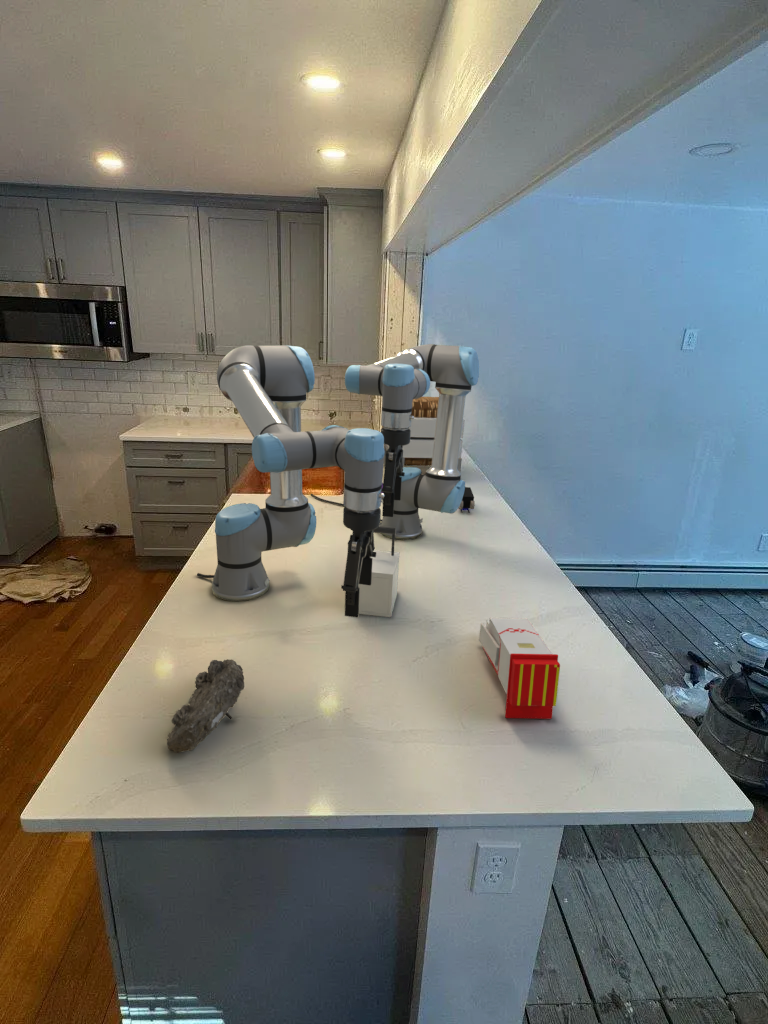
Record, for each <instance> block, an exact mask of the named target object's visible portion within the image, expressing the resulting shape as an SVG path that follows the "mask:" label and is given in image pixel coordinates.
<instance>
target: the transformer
mask: <svg viewBox="0 0 768 1024" xmlns="http://www.w3.org/2000/svg"><path fill="white" fill-rule="evenodd" d="M438 400H439V396H422V397H420V398H418V399H413V401H412V411H411V412H412V413H411V416H414V419H411V427H409V429H410V430H411V434H410V443H409V444H408V445H404V446H403V467H405V466H406V467H417V466H418V467H431V466H432V456H433V447H434V438H435V428H436V419H437V410H438ZM464 429H465V419H464V418H463V423H462V431H461V439H460V448H459V456H458V465H457V469H458V471H459V472H460V473H461V472H462V461H463V460H462V453H463V442H464V441H463V440H462V439H463V438H464V431H465V430H464ZM388 449H389V445H387V444H384V451H385V454H384V464H383V467H385V462H386V451H388ZM461 474H462V473H461Z"/></svg>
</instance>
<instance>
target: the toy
mask: <svg viewBox="0 0 768 1024" xmlns="http://www.w3.org/2000/svg"><path fill="white" fill-rule="evenodd" d="M478 642H479V644H480V645H481V647H482V649H483V651H484V653H485V655H486V656H487V659H488V661H489V662H490V664H491V666H492V667H493V669H494V671H495V673H496V675H497V678H498V679H499V682H500V684H501V686H502V688H503V690H504V692H505V694H506V695H505V696H506V701H505V711H504V717H505V719H535V720H536V719H537V720H538V719H539V720H540V719H541V720H552V719H553V710H554V707H556V706H557V699H558V691H559V682H560V681H559V679H560V670H561V664H560V662H559V655H558V654H555V653H552V651H551V649H550V648H549V647H548V645H547V643H545V641H544V640H543V638H542V637H541V636H540V634H539V633H538V631H537V630H536V628H535V626H534V625H533V623H532V622H531V621H530V620H529V618H528V617H493V616H492V617H489V619H486V623H485V624H484V623H482V622H481V623H480V627H479V635H478Z"/></svg>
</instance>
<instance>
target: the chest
mask: <svg viewBox="0 0 768 1024" xmlns="http://www.w3.org/2000/svg"><path fill="white" fill-rule="evenodd" d="M399 567H400V559H399V560H398V563H397V567H396V570H395V574H394V577H393V579H389V578H379V577H372V579H371V586H370V585H363V584H359V585H358V587H359V588H360V589H359V615H364V616H365V615H367V616H376V617H384V618H391V617H392V614H393V610H394V607H395V603H396V599H397V596H398V585H399Z"/></svg>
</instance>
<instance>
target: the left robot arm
mask: <svg viewBox="0 0 768 1024" xmlns="http://www.w3.org/2000/svg"><path fill="white" fill-rule="evenodd" d="M315 378H316V376H315V369H314V365H313V361H312V359H311V357H310V354H309V353H308V351H306V349H304V348H303V347H301V346H296V345H288V344H286V345H285V344H284V345H252V344H251V345H250V344H249V345H242V346H238V347H235V348H233V349H232V350H231V351H229V352H228V353H227V354H226V355H224V357H223V358H222V359H221V360H220V363H219V365H218V367H217V370H216V382H217V386H218V388H219V390H220V392H221V394H222V395H223V397H225V398H226V399H227V400H228V401H230V402H232V404H233V405H234V407H235V408H236V410H237V412H238V414H239V416H240V417H241V419H242V421H243V422H244V424H245V426H246V427H247V429H248V431H249V432H250V434H251V436H252V438H253V439H252V442H251V456H252V460H253V463H254V467H255V468H256V470H257V471H259V472H260V473H269V482H270V494H269V495H268V496H267V498H265V500H264V501H265V507H264V508H260V506H259V505H258V504H256V503H252V502H251V503H250V502H249V503H246V502H243V503H236V504H231V505H228V506H226V507H224V508H222V509H221V510H220V511H219V512H218V513H217V514H216V516H215V519H214V521H215V523H214V533H215V543H216V544H215V545H216V557H217V566H216V569H215V572H214V574H202V573H199V572H197V573H196V576H197V577H200V578H203V579H212V583H211V591H212V594H213V595H214V596H215V597H216V598H219V599H221V600H223V601H229V602H243V601H244V602H245V601H249V600H250V601H251V600H254V599H257V598H259V597H261V596H263V595H265V594H266V593H267V592H268V590H269V589H270V578H269V576H268V574H267V571H266V568H265V566H264V564H263V561H262V560H263V559H262V552H263V553H264V552H268V551H275V550H280V549H286V548H296V547H299V546H303V545H307V544H309V543H310V542H311V541H312V540H313V539H314V536H315V534H316V530H317V516H316V510H315V507H314V505H313V504H311V502H309V498H308V497H307V496H306V495H304V493H303V470H310V469H312V470H313V469H320V468H330V467H338V468H340V469H341V470H343V473H344V479H343V480H344V481H343V482H344V483H343V500H342V501H343V502H342V504H343V505H344V506H343V509H342V510H343V511H342V512H343V514H342V524H343V525H344V527H345V528H347V529H349V530H350V531H352V534H350V535H349V540H348V541H347V554H346V562H345V570H344V578H343V584H341V586H340V588H341V590H342V591H343V592H344V616H345V617H351V618H356V619H357V618H359V615H360V614H359V589H360V588H359V587H358V585H359V584H363V585H370V586H371V579H372V559H373V558H370V557H376V552H373V551H374V550H376V547H375V533H374V532H373V530H374V529H376V528H378V527H379V525H380V523H381V521H380V519H381V516H382V514H381V513H382V509H381V506H382V499H383V498H384V496H385V495H384V493H381V491H382V482H383V479H384V454H385V451H384V436H383V434H382V433H381V431H379V430H377V429H372V428H367V427H359V428H358V427H357V428H352V429H349V428H347V427H344V426H341V425H338V424H330V425H327V426H325V427H324V428H322V429H321V430H310V431H306V430H305V431H302V406H303V405H304V404H305V403H306V401H307V394H308V393H310V392H312V391H313V390H314V388H315V387H314V385H315V384H316V383H315V382H316V379H315ZM381 498H382V499H381Z"/></svg>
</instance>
